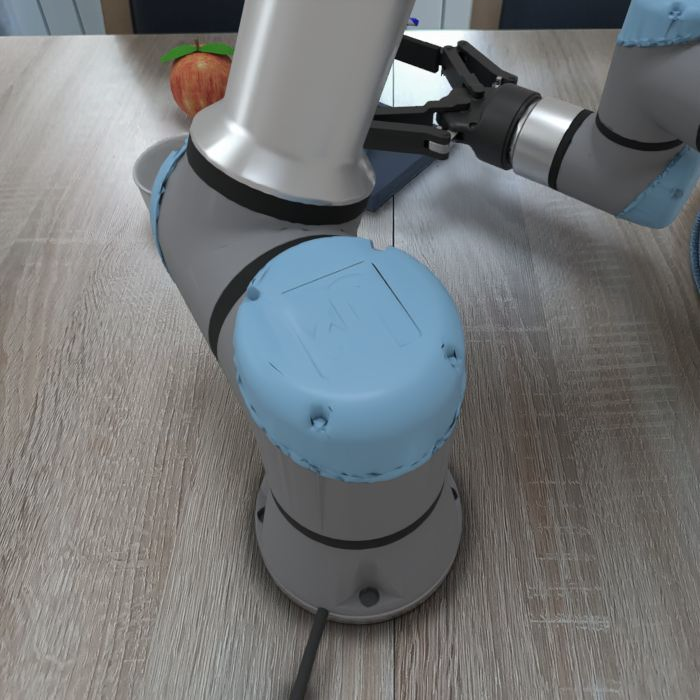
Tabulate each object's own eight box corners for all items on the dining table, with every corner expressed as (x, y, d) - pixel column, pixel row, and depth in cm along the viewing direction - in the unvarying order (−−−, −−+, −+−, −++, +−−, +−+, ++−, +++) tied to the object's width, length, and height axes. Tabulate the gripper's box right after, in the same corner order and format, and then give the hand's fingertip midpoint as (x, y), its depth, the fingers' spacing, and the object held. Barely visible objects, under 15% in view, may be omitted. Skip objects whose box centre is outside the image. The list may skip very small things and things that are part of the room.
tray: (372, 212, 72) (372, 197, 71) (257, 155, 79) (255, 140, 78) (451, 146, 80) (452, 130, 78) (339, 100, 87) (339, 85, 85)
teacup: (233, 260, 68) (219, 198, 62) (135, 248, 69) (112, 186, 63) (270, 179, 76) (261, 117, 70) (182, 170, 78) (166, 108, 72)
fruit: (243, 133, 82) (229, 56, 75) (168, 134, 83) (147, 57, 75) (251, 96, 88) (239, 21, 80) (180, 97, 88) (162, 22, 80)
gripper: (452, 234, 59) (279, 153, 68) (577, 112, 71) (416, 55, 80) (460, 164, 53) (270, 84, 62) (595, 43, 65) (420, -9, 74)
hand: (352, 68), depth 71 cm, fingers open, 13 cm apart
